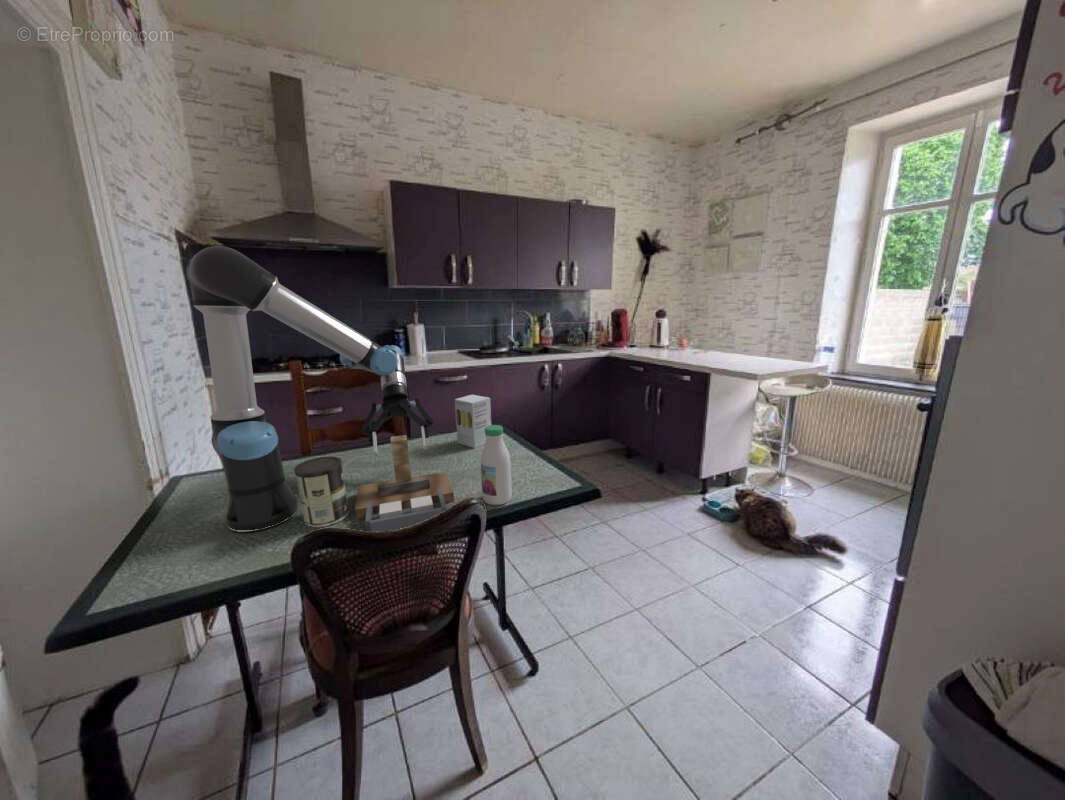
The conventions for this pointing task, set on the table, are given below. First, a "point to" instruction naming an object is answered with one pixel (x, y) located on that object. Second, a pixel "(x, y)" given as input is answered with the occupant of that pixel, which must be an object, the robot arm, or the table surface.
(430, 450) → the table surface
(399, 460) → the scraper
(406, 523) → the tray
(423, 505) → the tile right
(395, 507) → the tile left
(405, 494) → the flat wooden board
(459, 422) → the supplement box
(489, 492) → the milk bottle
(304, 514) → the coffee can
